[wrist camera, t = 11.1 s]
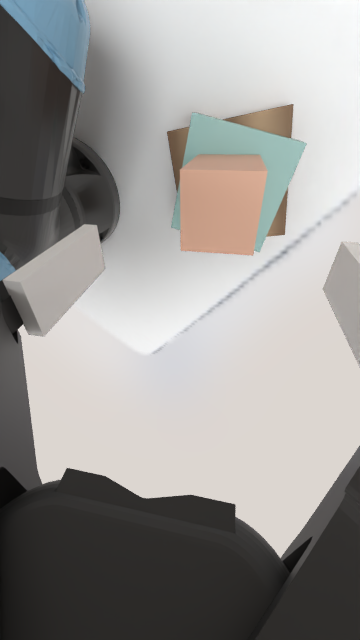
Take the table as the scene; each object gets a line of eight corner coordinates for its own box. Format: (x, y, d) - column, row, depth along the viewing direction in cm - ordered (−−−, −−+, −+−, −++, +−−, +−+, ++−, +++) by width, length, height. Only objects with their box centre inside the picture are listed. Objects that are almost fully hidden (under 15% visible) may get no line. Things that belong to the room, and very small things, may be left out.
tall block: (196, 215, 30) (180, 250, 22) (198, 154, 26) (180, 169, 18) (250, 218, 29) (253, 255, 21) (260, 154, 25) (267, 171, 17)
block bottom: (190, 234, 39) (185, 244, 36) (174, 130, 32) (167, 131, 29) (281, 224, 36) (284, 234, 33) (287, 105, 28) (293, 104, 25)
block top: (177, 217, 34) (171, 227, 31) (197, 113, 27) (192, 112, 24) (257, 239, 34) (259, 252, 31) (299, 140, 27) (306, 143, 24)
